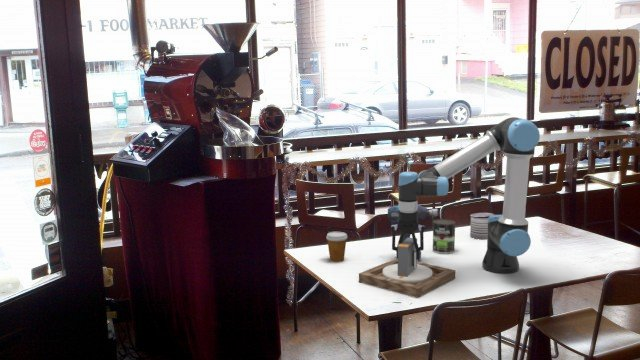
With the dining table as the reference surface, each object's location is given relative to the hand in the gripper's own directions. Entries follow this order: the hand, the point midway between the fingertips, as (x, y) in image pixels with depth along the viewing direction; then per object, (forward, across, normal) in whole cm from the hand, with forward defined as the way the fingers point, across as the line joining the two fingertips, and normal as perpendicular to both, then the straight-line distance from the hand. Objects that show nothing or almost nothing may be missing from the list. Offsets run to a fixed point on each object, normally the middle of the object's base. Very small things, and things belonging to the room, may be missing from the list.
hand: (407, 266), depth 255 cm
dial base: (+6, 0, 0) cm, 6 cm away
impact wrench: (+6, -3, -28) cm, 29 cm away
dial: (+4, 0, 0) cm, 4 cm away
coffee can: (+6, -18, -42) cm, 46 cm away
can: (+6, -39, -68) cm, 78 cm away
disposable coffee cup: (+6, +31, -26) cm, 40 cm away
